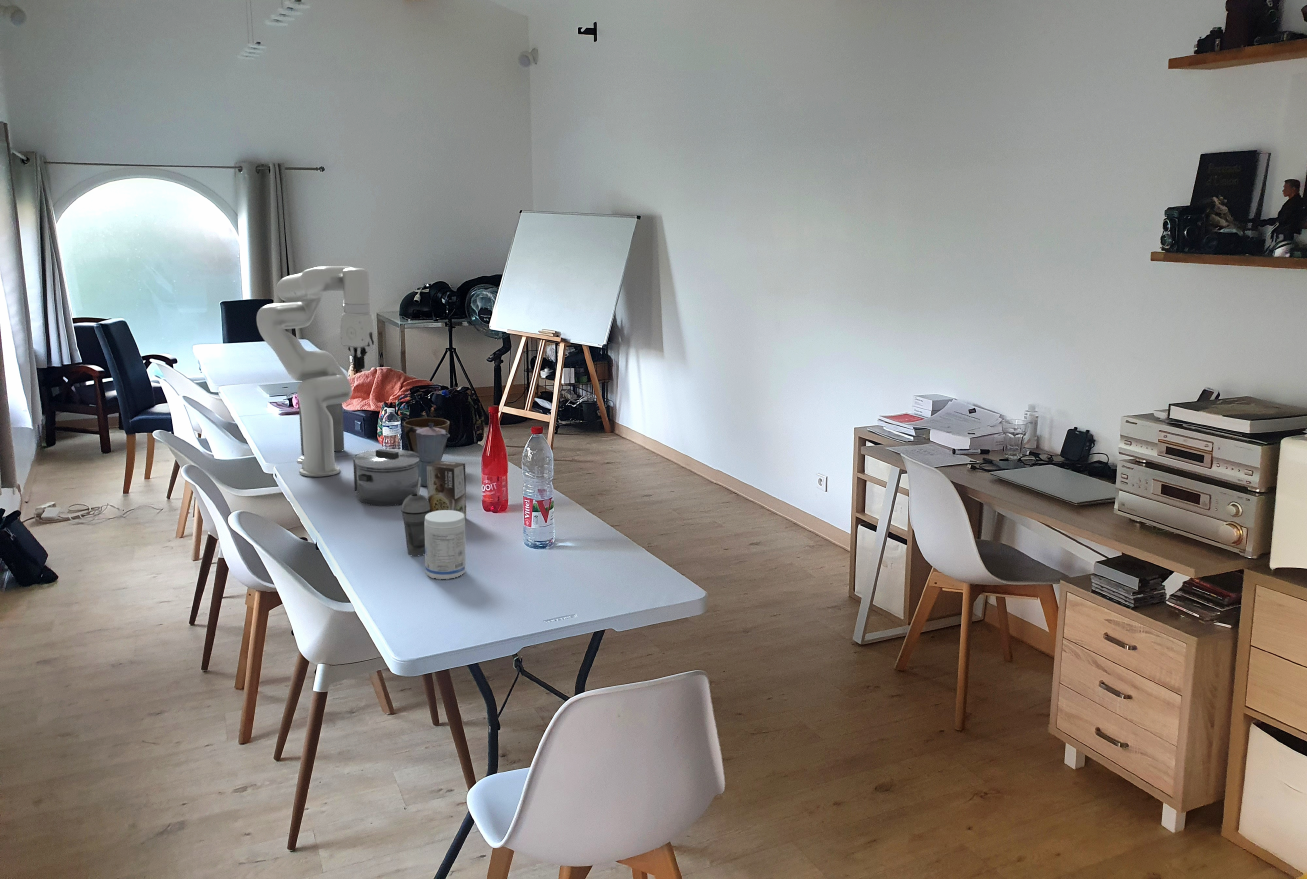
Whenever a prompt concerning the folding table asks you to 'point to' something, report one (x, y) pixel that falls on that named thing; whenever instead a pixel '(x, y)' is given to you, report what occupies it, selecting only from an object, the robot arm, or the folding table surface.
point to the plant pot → (425, 424)
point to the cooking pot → (385, 485)
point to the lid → (386, 459)
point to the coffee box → (446, 486)
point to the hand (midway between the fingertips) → (359, 368)
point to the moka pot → (427, 447)
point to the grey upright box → (338, 431)
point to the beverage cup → (415, 521)
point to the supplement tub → (444, 544)
